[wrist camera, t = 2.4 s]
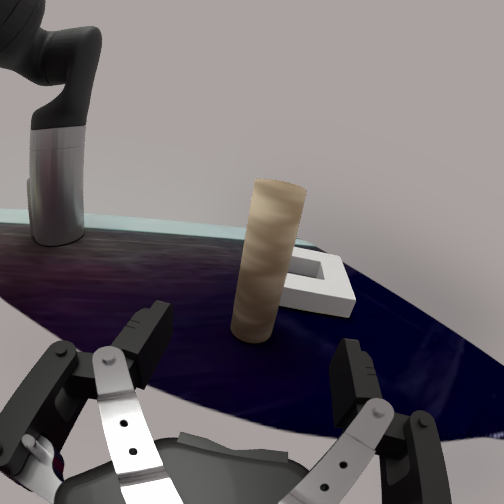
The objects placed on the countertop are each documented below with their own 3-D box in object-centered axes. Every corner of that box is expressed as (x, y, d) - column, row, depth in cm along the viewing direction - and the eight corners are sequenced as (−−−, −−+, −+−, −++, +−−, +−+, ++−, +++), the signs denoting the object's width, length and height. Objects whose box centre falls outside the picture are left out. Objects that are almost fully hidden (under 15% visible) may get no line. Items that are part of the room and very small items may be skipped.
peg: (227, 338, 25) (251, 184, 19) (234, 313, 28) (257, 176, 23) (269, 346, 25) (308, 195, 19) (272, 320, 28) (304, 186, 22)
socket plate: (247, 299, 31) (251, 280, 30) (258, 255, 42) (261, 240, 41) (348, 317, 31) (356, 300, 30) (335, 270, 41) (339, 256, 40)
